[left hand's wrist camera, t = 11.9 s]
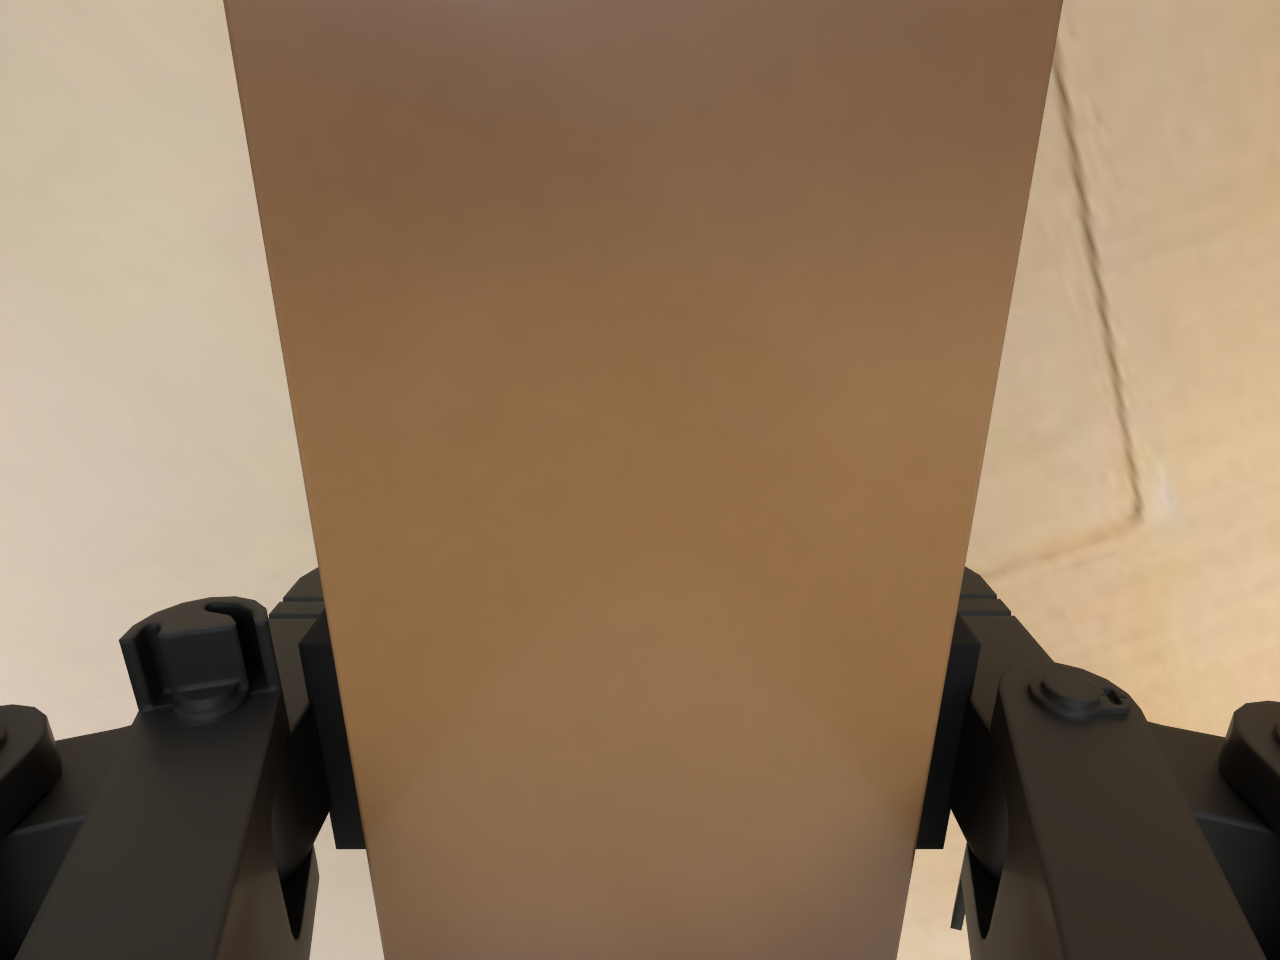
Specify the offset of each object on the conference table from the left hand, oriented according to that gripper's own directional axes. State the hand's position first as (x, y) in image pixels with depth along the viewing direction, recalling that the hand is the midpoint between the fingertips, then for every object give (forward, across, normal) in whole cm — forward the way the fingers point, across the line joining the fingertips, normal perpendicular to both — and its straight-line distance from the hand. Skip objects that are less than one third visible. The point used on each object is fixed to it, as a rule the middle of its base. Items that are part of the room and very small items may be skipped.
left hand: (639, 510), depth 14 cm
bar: (+1, 0, -7) cm, 7 cm away
